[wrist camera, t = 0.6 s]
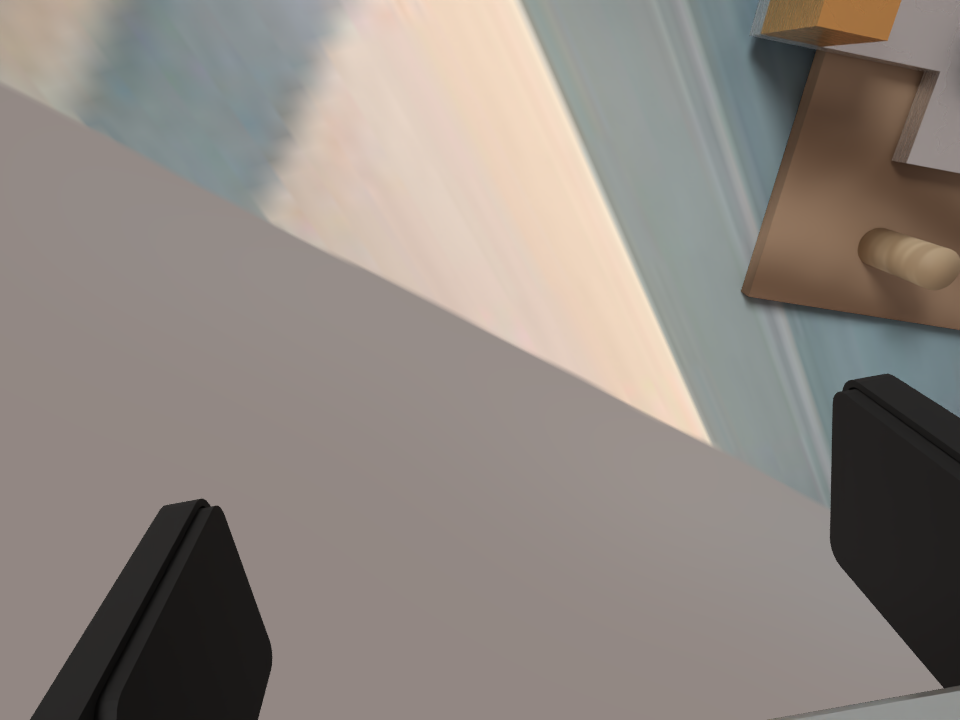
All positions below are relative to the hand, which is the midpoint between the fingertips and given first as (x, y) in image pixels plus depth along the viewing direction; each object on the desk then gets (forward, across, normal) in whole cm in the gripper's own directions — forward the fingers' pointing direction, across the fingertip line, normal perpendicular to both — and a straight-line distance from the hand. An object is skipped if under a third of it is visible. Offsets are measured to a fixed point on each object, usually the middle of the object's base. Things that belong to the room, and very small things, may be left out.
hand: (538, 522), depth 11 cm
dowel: (+27, -21, +6) cm, 35 cm away
